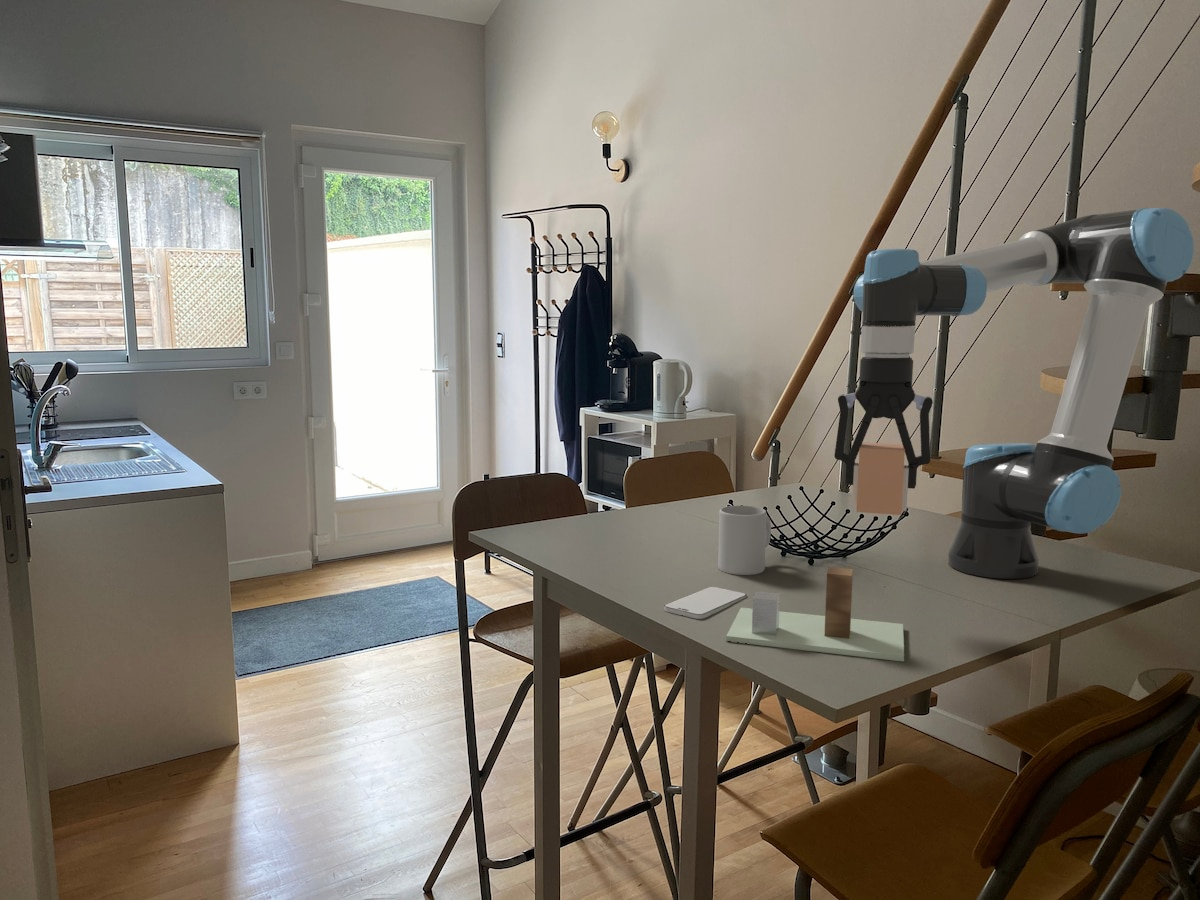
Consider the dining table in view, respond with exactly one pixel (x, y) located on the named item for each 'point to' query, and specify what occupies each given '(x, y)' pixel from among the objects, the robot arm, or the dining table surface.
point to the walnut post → (838, 602)
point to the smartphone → (704, 602)
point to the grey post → (765, 613)
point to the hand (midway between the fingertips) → (879, 507)
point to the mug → (743, 539)
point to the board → (810, 632)
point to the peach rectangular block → (880, 478)
